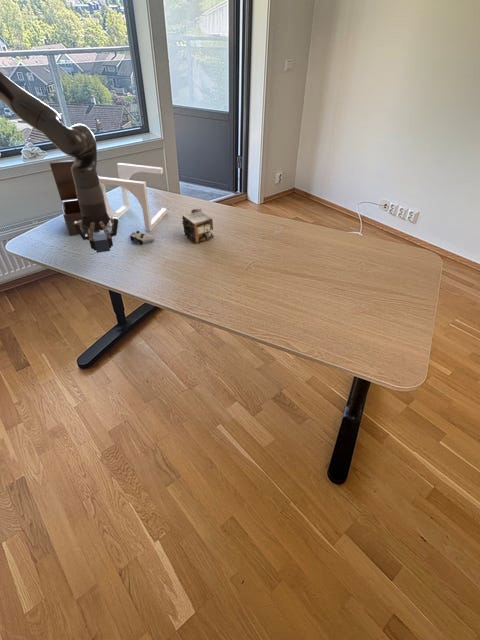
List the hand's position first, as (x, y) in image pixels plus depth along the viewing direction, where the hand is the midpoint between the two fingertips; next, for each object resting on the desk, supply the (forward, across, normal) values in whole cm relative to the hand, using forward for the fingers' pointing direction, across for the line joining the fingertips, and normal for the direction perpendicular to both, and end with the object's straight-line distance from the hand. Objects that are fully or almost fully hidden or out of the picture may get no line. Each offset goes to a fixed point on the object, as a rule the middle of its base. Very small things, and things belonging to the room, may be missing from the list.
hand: (102, 248), depth 118 cm
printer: (+8, -38, -10) cm, 40 cm away
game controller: (+8, -16, -17) cm, 25 cm away
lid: (-8, +5, -43) cm, 44 cm away
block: (0, 0, 0) cm, 0 cm away
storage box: (+8, +5, -37) cm, 38 cm away
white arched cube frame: (+8, -18, -37) cm, 42 cm away
